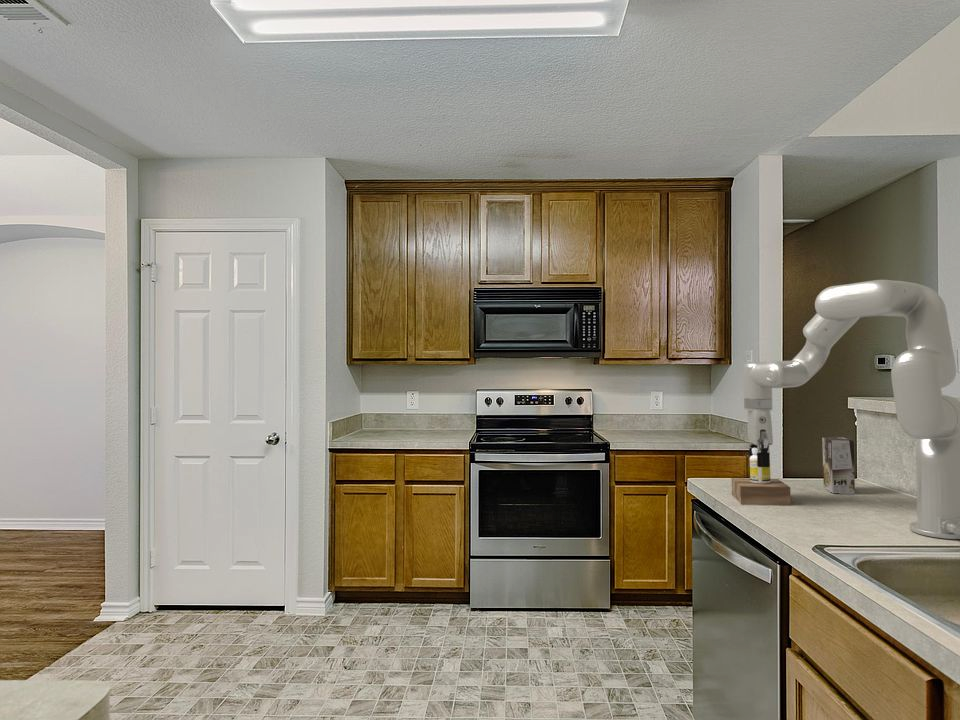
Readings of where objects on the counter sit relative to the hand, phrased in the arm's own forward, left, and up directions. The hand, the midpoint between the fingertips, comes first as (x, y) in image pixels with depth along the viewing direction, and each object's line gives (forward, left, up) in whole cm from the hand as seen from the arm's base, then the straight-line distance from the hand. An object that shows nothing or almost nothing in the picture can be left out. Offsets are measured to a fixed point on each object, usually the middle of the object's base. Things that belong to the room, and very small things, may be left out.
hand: (759, 464), depth 189 cm
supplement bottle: (0, 0, -6) cm, 6 cm away
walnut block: (0, 0, -10) cm, 10 cm away
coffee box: (+15, -26, -10) cm, 32 cm away
